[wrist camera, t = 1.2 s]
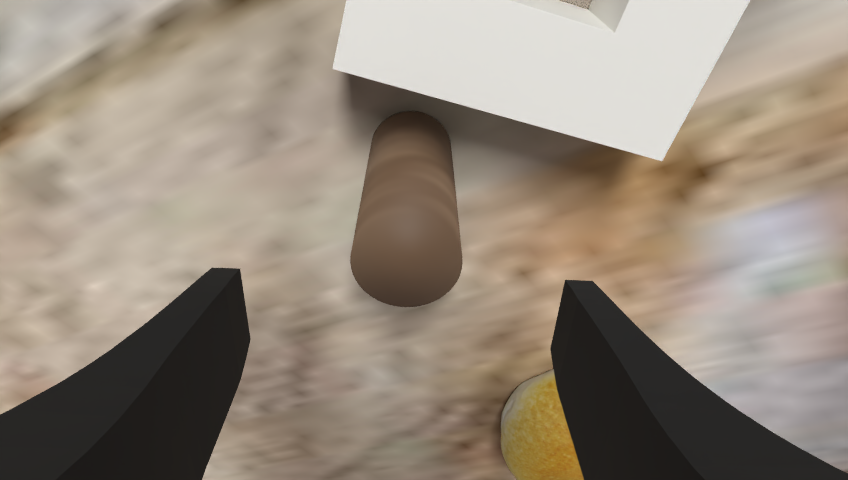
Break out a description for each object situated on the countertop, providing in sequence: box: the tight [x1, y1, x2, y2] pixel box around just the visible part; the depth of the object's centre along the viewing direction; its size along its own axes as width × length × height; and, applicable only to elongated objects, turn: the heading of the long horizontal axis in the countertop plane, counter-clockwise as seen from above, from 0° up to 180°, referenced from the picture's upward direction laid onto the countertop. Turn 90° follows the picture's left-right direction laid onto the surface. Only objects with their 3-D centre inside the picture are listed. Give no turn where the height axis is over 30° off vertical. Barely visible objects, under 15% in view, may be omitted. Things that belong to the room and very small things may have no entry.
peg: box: [350, 111, 462, 307], centre depth 18 cm, size 3×3×7 cm
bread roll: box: [501, 369, 584, 480], centre depth 27 cm, size 8×9×4 cm
